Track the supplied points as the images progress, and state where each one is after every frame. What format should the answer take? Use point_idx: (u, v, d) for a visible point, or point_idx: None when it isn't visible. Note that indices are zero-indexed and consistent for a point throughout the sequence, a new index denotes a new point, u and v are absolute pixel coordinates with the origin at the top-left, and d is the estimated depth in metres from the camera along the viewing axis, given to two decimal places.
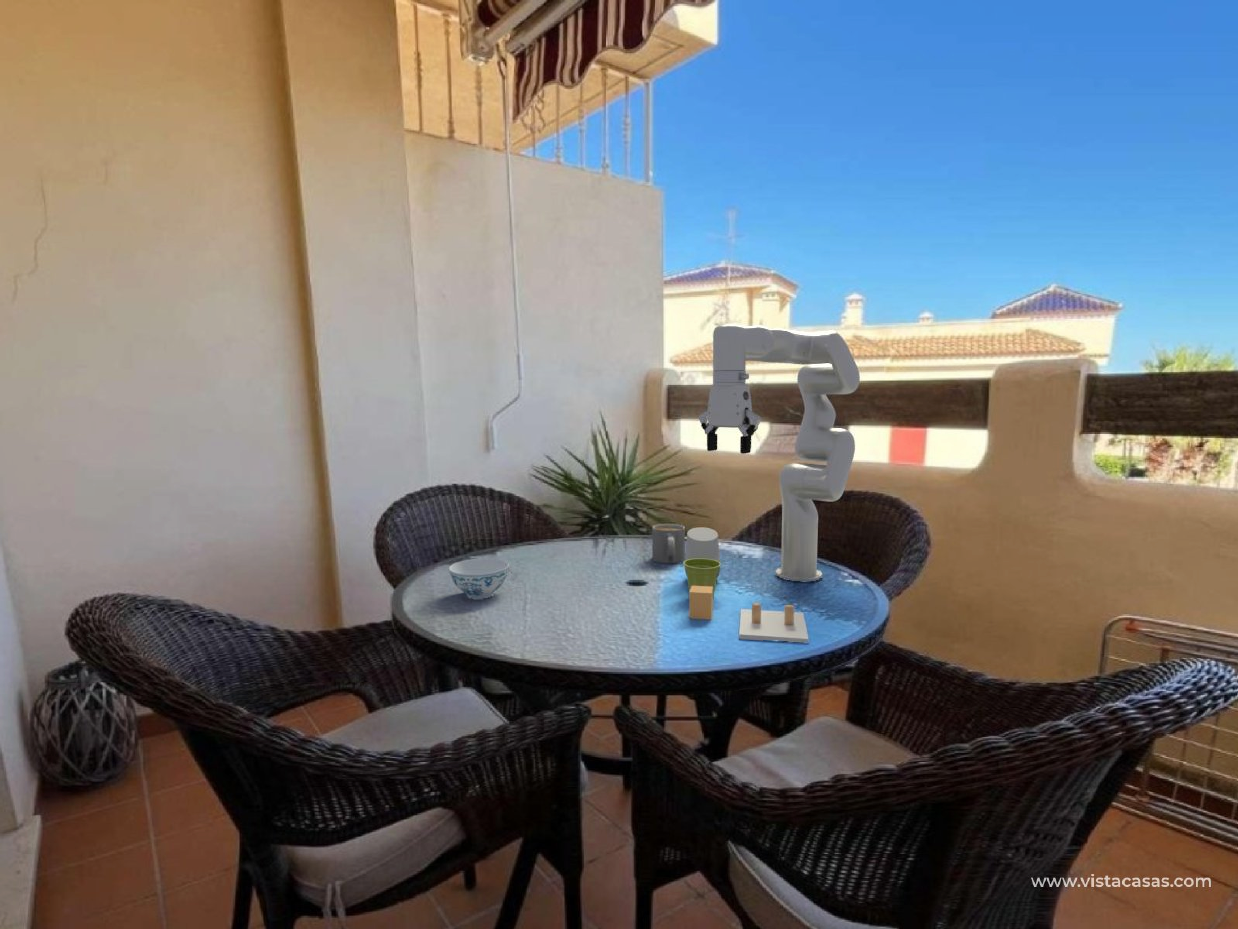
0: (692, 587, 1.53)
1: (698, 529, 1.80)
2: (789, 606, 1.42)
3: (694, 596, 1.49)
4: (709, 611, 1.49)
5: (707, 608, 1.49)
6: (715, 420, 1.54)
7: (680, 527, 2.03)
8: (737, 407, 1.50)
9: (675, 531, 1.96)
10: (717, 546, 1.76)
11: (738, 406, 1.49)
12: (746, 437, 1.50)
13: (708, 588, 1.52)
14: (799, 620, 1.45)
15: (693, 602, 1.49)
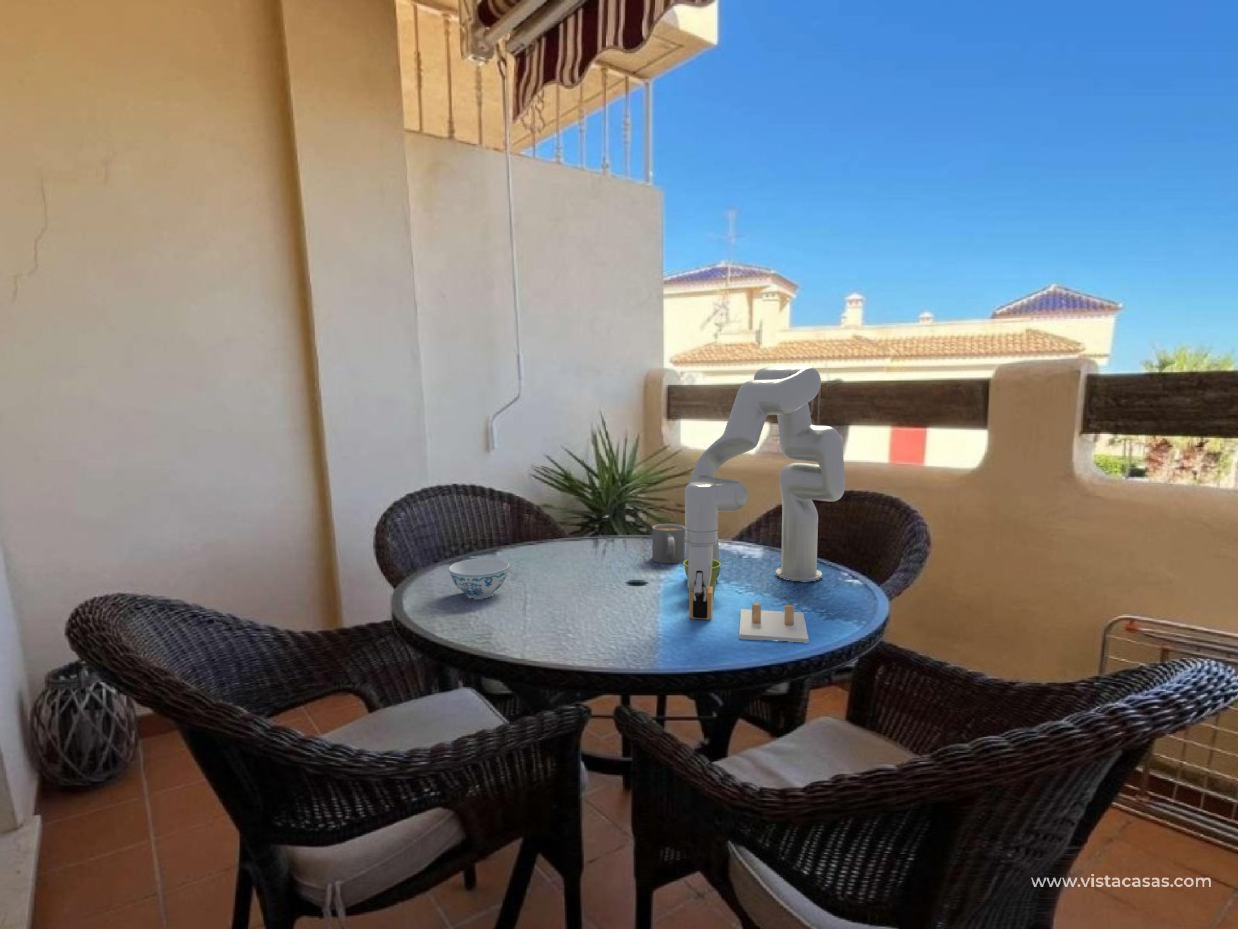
0: (692, 587, 1.53)
1: None
2: (789, 606, 1.42)
3: None
4: (709, 611, 1.49)
5: (707, 608, 1.49)
6: (710, 580, 1.48)
7: (680, 527, 2.03)
8: None
9: (675, 531, 1.96)
10: (717, 546, 1.76)
11: None
12: None
13: (708, 588, 1.52)
14: (799, 620, 1.45)
15: None
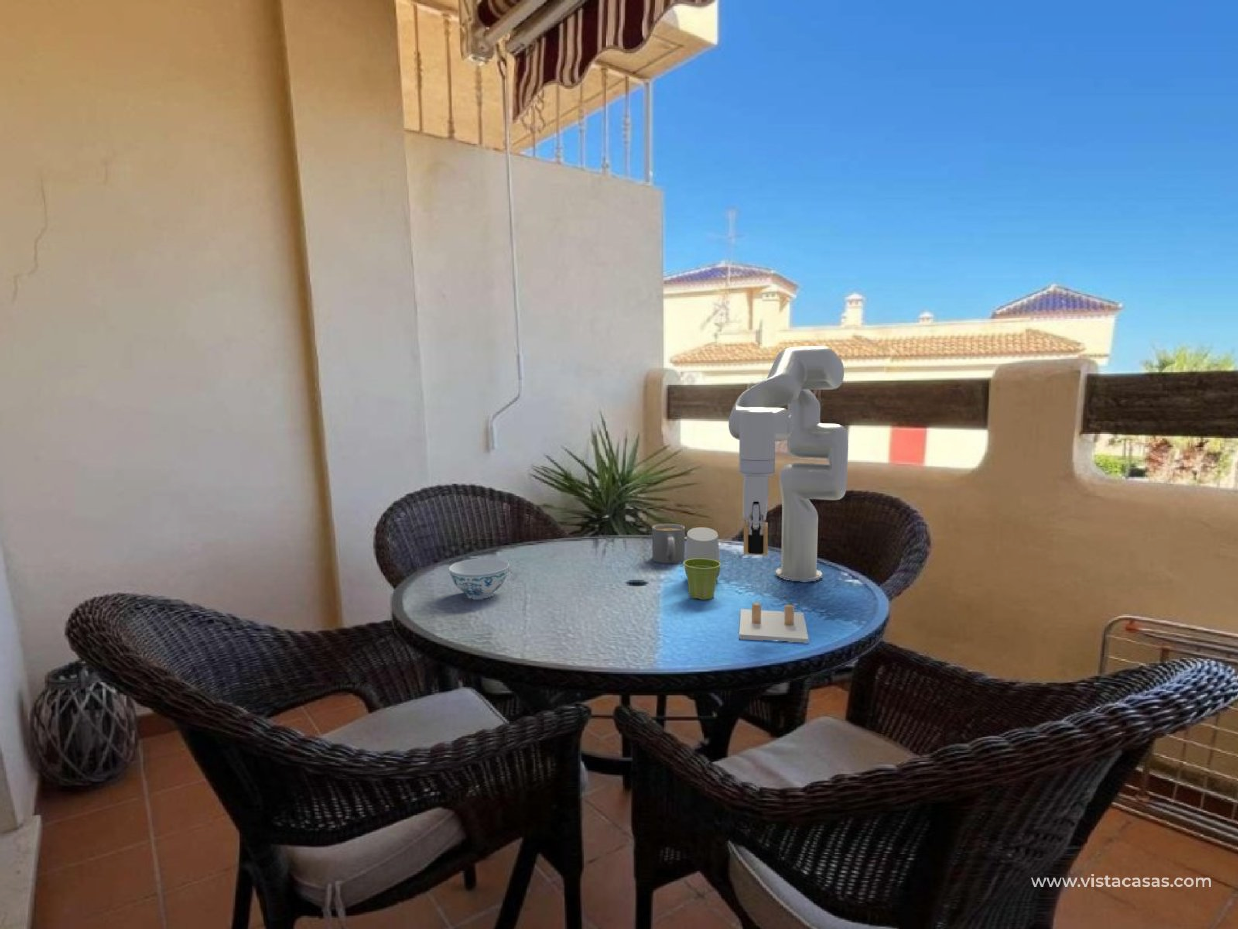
0: (746, 522, 1.43)
1: (698, 529, 1.80)
2: (789, 606, 1.42)
3: None
4: (765, 546, 1.40)
5: (763, 543, 1.40)
6: None
7: (680, 527, 2.03)
8: None
9: (675, 531, 1.96)
10: (717, 546, 1.76)
11: None
12: None
13: (763, 523, 1.42)
14: (799, 620, 1.45)
15: None
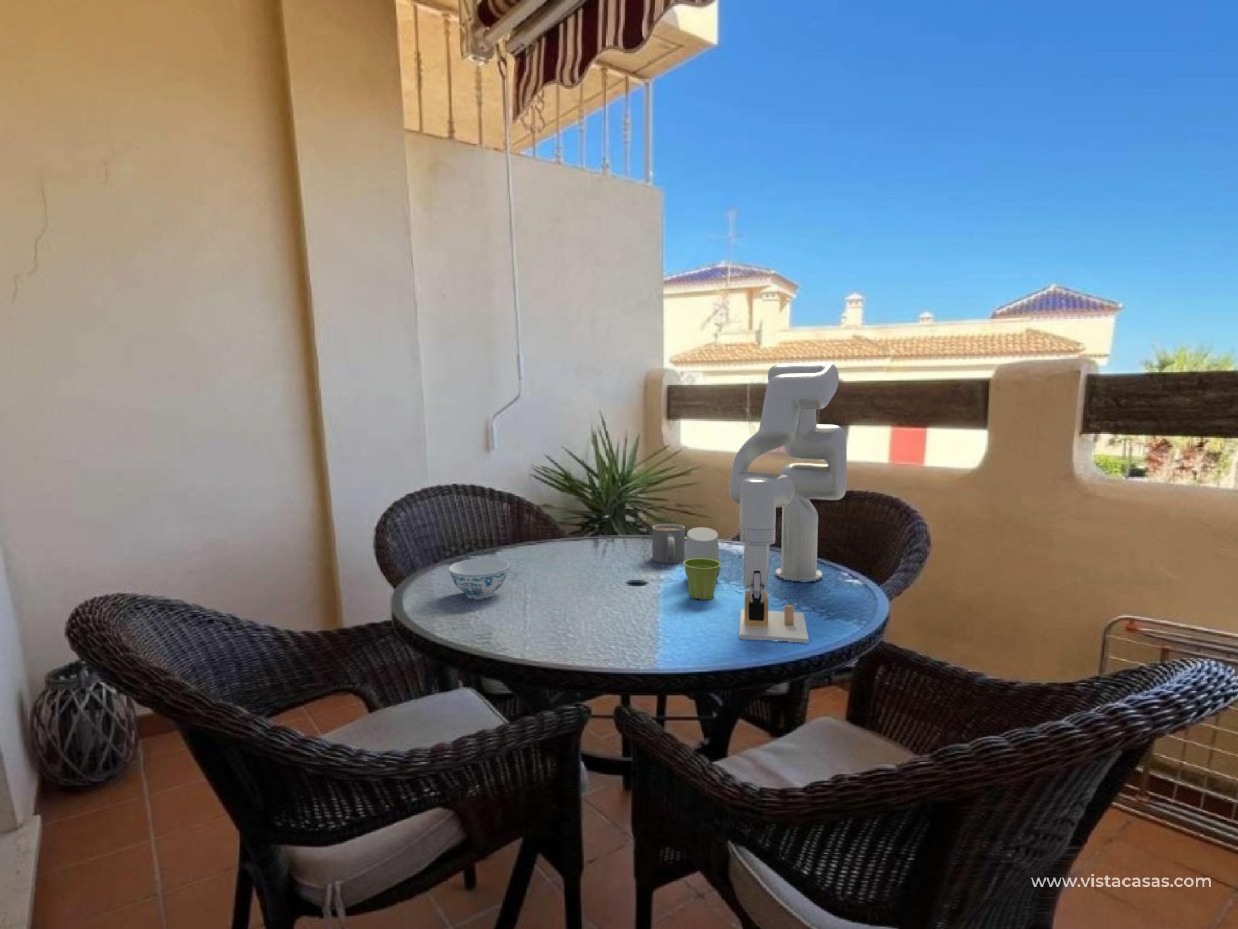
0: (746, 592, 1.45)
1: (698, 529, 1.80)
2: (789, 606, 1.42)
3: None
4: (766, 618, 1.41)
5: (764, 614, 1.41)
6: None
7: (680, 527, 2.03)
8: None
9: (675, 531, 1.96)
10: (717, 546, 1.76)
11: None
12: None
13: (764, 593, 1.44)
14: (799, 620, 1.45)
15: None
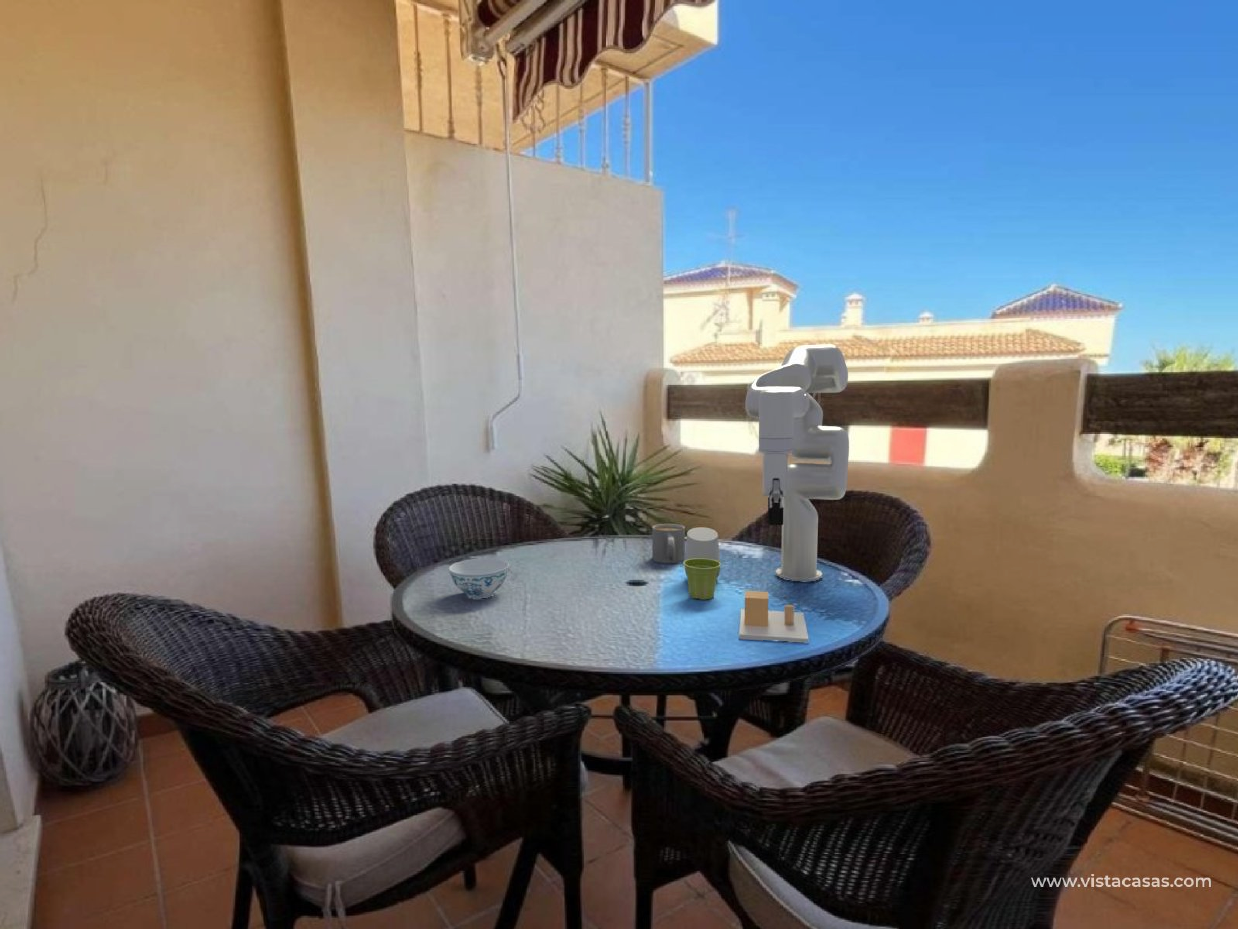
0: (746, 592, 1.45)
1: (698, 529, 1.80)
2: (789, 606, 1.42)
3: (750, 602, 1.42)
4: (766, 618, 1.41)
5: (764, 614, 1.41)
6: None
7: (680, 527, 2.03)
8: None
9: (675, 531, 1.96)
10: (717, 546, 1.76)
11: None
12: None
13: (764, 593, 1.44)
14: (799, 620, 1.45)
15: (749, 608, 1.42)
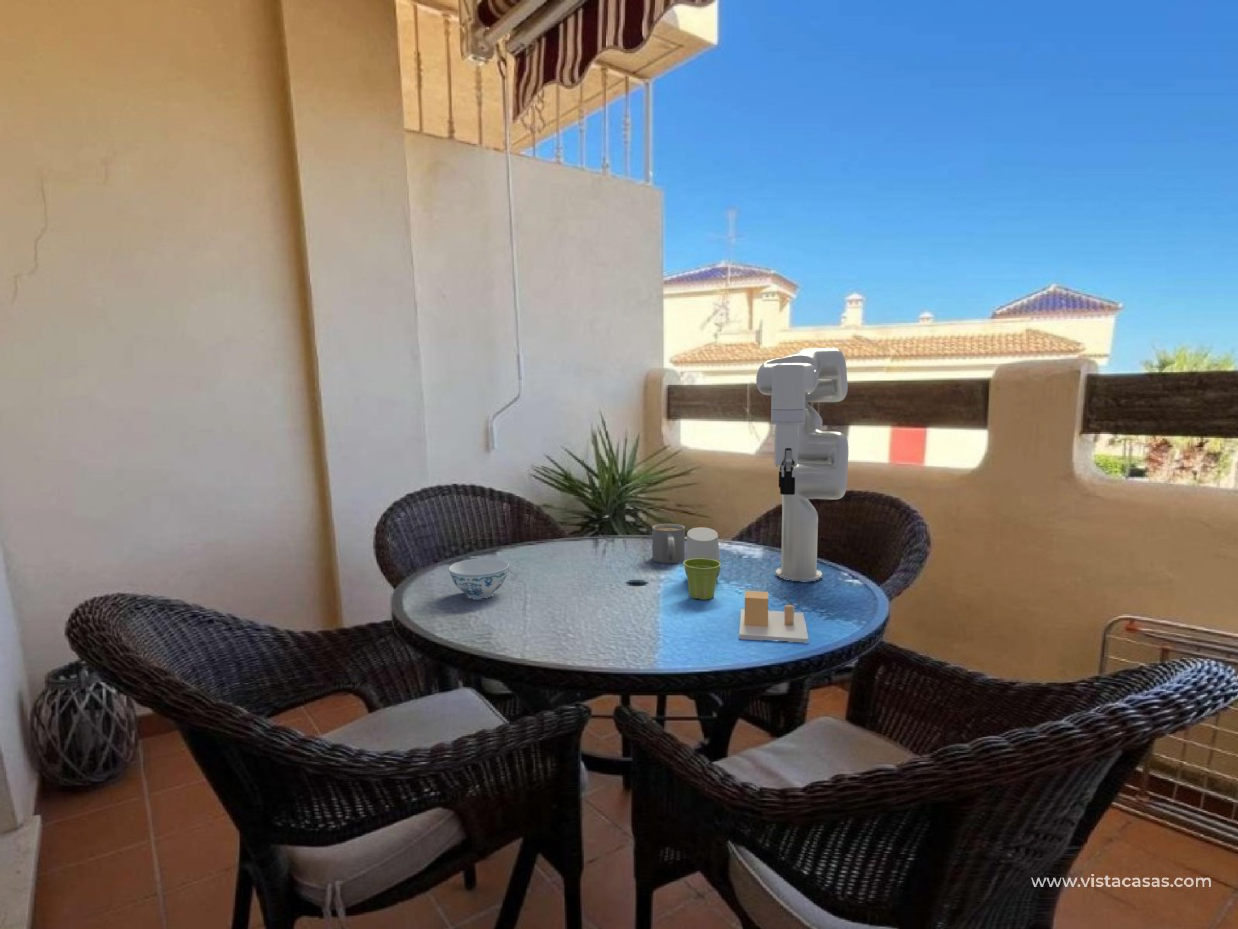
0: (746, 592, 1.45)
1: (698, 529, 1.80)
2: (789, 606, 1.42)
3: (750, 602, 1.42)
4: (766, 618, 1.41)
5: (764, 614, 1.41)
6: None
7: (680, 527, 2.03)
8: None
9: (675, 531, 1.96)
10: (717, 546, 1.76)
11: None
12: None
13: (764, 593, 1.44)
14: (799, 620, 1.45)
15: (749, 608, 1.42)
